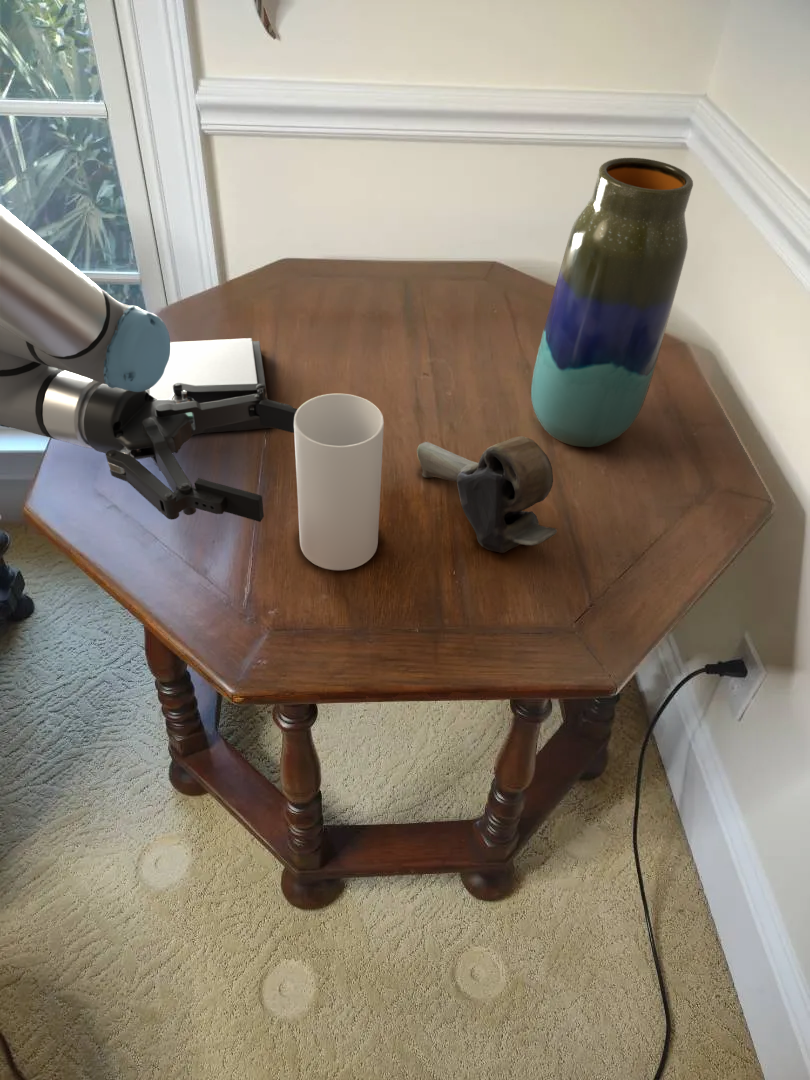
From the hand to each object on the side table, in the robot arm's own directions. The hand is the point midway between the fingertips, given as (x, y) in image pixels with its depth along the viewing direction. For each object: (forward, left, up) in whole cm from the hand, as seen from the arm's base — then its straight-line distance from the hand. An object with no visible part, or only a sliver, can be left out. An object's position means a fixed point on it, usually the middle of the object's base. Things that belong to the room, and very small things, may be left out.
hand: (291, 465), depth 76 cm
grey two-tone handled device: (+20, -1, -9) cm, 22 cm away
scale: (-9, +26, -9) cm, 29 cm away
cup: (+4, -3, -9) cm, 10 cm away
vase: (+37, +13, -9) cm, 41 cm away
